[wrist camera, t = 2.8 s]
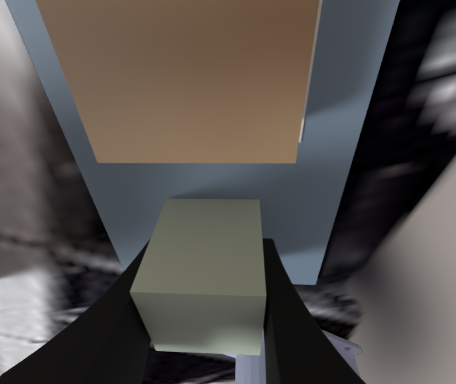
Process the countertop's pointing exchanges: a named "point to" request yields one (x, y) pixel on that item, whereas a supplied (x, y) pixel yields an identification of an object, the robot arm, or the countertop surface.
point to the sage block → (204, 277)
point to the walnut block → (186, 76)
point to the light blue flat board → (242, 172)
